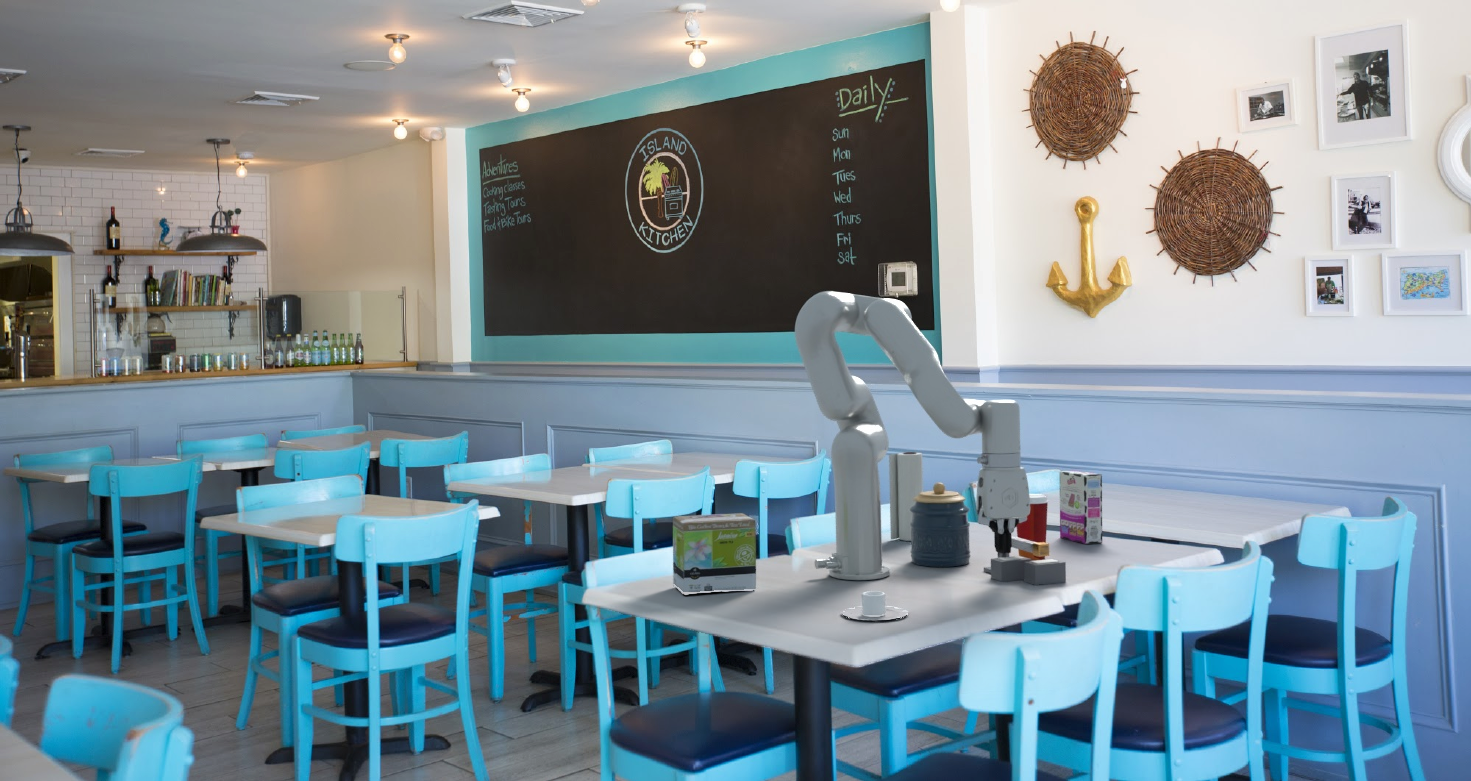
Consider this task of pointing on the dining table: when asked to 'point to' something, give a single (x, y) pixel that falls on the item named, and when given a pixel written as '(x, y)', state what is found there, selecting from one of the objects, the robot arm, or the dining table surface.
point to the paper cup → (1034, 524)
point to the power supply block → (1045, 571)
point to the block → (1008, 568)
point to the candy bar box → (1081, 507)
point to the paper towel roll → (904, 491)
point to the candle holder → (874, 603)
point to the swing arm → (1031, 546)
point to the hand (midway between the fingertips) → (1003, 552)
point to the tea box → (714, 552)
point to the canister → (940, 529)
